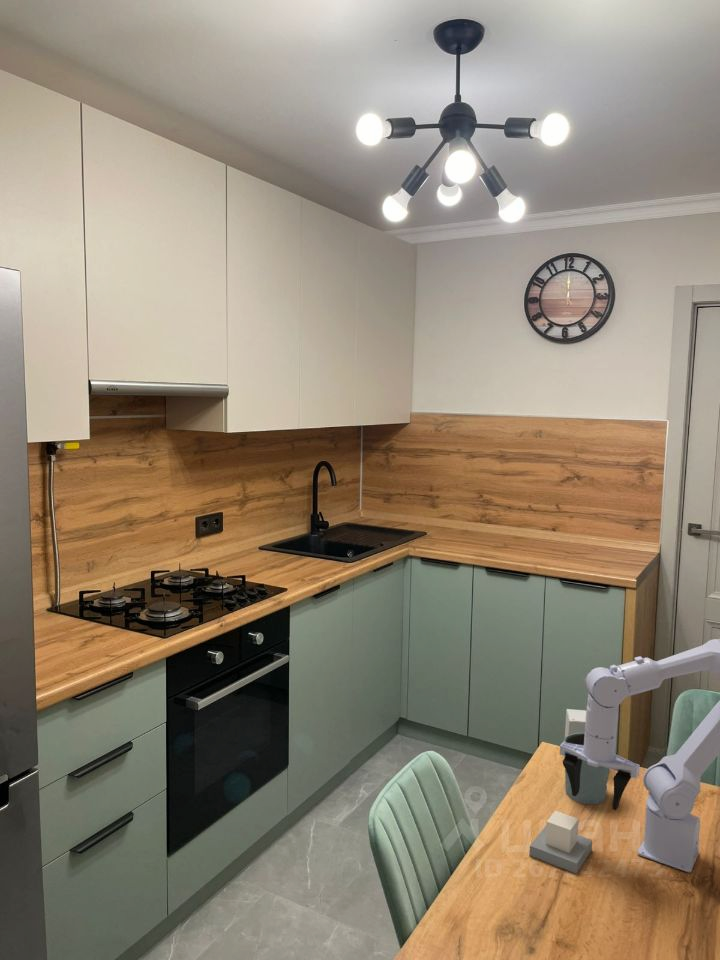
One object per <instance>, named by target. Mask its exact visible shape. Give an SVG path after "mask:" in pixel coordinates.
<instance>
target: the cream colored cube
mask: <svg viewBox="0 0 720 960" xmlns="http://www.w3.org/2000/svg"><path fill="white" fill-rule="evenodd" d="M579 821H580V819H579V818H577V817H575V816H572V815H569V814H565V813H563V812H560V811H556V810H555V811H553V813H552V814H551V815H550V817H549V818H548V819H547V820H546V825H545V826H546V844H547V845H550V846H552V847H555V848H558V849H560V850H563V851H566V852H569V853H570V851H571V850H572V848H573V847H574V845H575V844H576V842H577V840H578V835H579Z"/></svg>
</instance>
